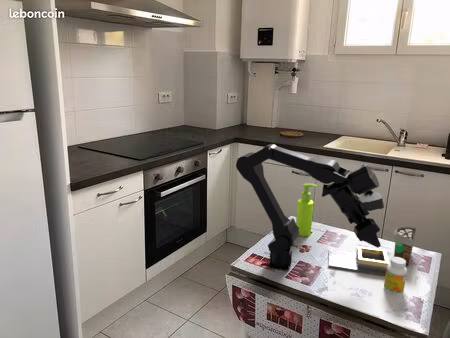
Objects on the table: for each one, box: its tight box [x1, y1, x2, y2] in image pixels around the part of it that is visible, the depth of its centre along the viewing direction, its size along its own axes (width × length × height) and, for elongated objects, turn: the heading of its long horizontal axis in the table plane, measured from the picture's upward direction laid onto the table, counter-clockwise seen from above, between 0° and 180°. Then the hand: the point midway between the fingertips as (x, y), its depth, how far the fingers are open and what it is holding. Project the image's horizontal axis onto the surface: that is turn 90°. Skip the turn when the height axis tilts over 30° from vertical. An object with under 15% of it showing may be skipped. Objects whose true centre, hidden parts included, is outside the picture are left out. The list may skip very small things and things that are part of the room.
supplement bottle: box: [383, 256, 408, 295], centre depth 110 cm, size 5×5×10 cm
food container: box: [393, 225, 417, 267], centre depth 128 cm, size 12×6×10 cm, turn 149°
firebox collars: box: [328, 245, 390, 277], centre depth 125 cm, size 19×12×4 cm, turn 74°
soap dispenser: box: [295, 182, 319, 237], centre depth 143 cm, size 6×7×20 cm
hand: (374, 238), depth 112 cm, fingers open, 9 cm apart
